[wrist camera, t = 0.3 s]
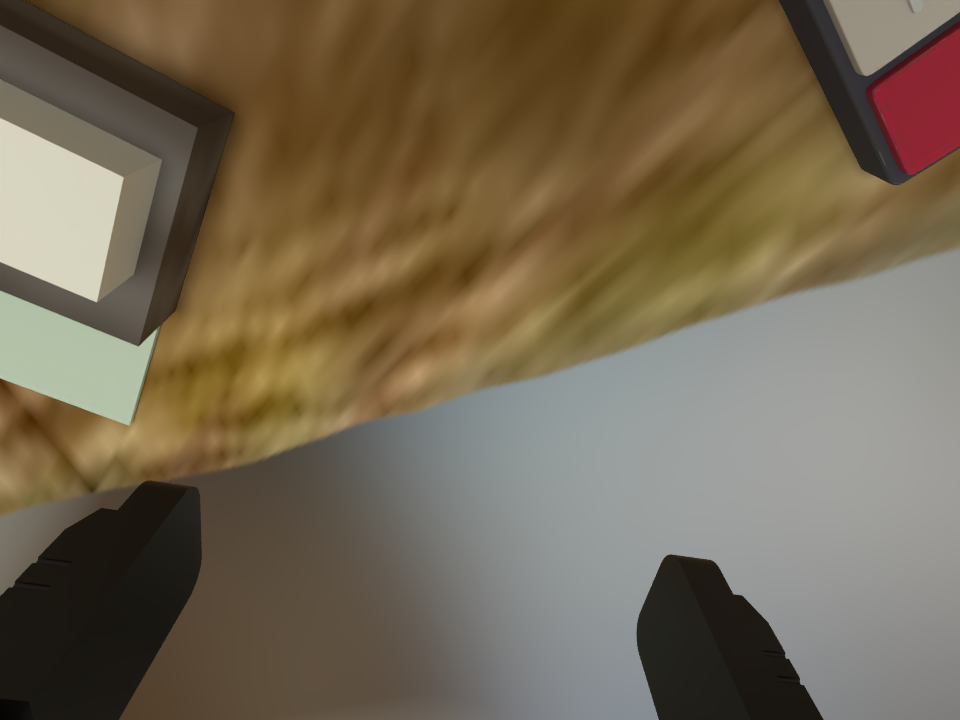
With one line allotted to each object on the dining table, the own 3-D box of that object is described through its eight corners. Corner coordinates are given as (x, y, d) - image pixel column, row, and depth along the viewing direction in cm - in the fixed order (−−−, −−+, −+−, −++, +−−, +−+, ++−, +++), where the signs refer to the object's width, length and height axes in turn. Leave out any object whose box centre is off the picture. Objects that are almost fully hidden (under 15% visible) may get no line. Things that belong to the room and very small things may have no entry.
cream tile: (-50, 54, 21) (-121, 59, 19) (161, 159, 23) (123, 177, 21) (-57, 191, 24) (-120, 212, 22) (133, 274, 26) (96, 302, 24)
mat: (-164, 174, 28) (-172, 176, 27) (164, 314, 32) (160, 317, 31) (-156, 315, 32) (-163, 318, 31) (132, 421, 36) (129, 425, 36)
